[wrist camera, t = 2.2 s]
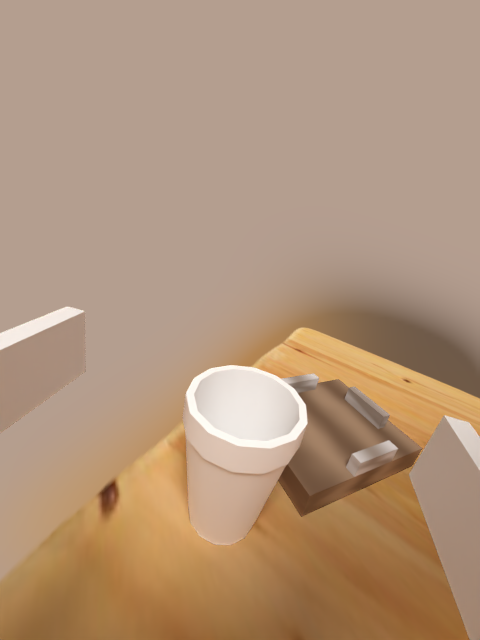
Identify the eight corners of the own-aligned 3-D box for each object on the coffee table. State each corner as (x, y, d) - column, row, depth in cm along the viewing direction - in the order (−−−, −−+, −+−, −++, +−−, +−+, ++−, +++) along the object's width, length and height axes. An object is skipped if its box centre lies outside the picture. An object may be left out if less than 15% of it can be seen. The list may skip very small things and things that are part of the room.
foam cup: (149, 530, 25) (160, 410, 20) (201, 453, 33) (218, 354, 28) (252, 590, 23) (295, 471, 17) (281, 491, 31) (316, 390, 26)
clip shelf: (333, 394, 49) (342, 368, 47) (412, 465, 37) (429, 436, 35) (236, 415, 40) (243, 385, 38) (301, 516, 29) (315, 480, 27)
